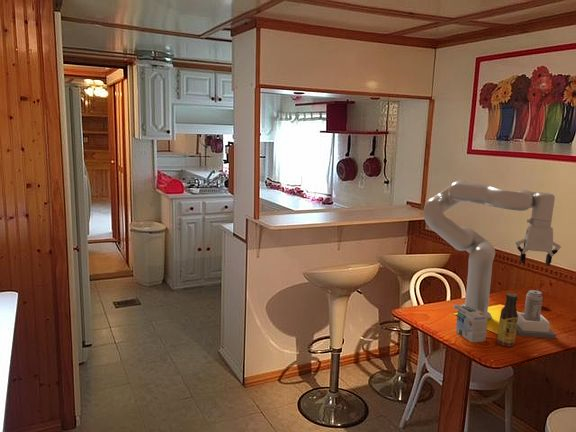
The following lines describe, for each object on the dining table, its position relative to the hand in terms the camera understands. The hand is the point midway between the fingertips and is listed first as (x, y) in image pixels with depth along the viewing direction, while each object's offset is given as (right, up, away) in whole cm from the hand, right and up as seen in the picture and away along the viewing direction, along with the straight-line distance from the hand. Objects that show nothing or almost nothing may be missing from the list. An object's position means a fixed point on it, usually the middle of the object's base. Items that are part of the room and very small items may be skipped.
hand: (535, 263), depth 208 cm
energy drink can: (-2, -26, 0) cm, 26 cm away
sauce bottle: (-18, -30, -14) cm, 38 cm away
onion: (+14, -23, +29) cm, 40 cm away
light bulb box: (-30, -28, -8) cm, 42 cm away
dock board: (-2, -28, 0) cm, 28 cm away
